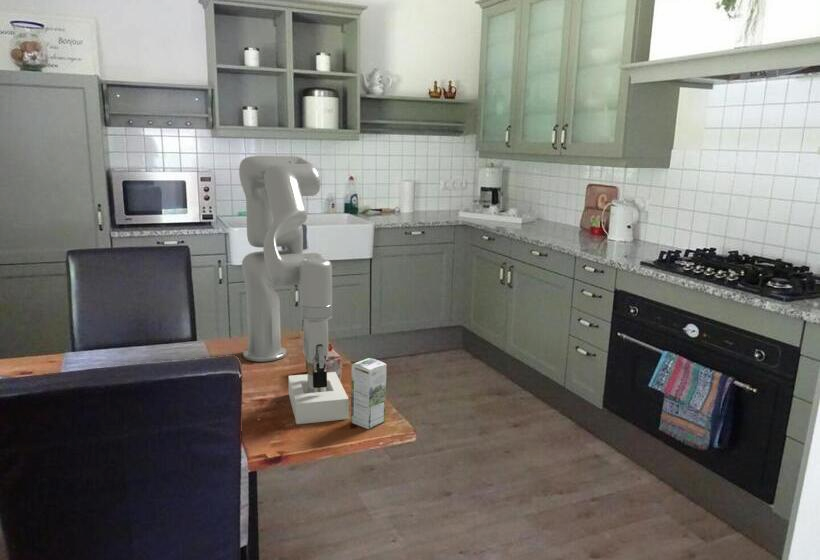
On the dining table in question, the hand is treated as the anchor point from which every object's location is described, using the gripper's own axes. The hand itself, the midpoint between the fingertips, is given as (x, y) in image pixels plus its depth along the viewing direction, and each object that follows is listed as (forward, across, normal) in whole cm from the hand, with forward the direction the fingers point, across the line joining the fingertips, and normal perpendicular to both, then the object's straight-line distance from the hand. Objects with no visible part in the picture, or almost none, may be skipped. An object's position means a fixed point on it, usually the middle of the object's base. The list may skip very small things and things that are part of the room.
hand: (317, 379), depth 148 cm
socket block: (+7, 0, 0) cm, 7 cm away
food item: (+7, -18, +4) cm, 20 cm away
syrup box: (+7, +12, +10) cm, 17 cm away
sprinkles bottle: (+7, 0, 0) cm, 7 cm away
